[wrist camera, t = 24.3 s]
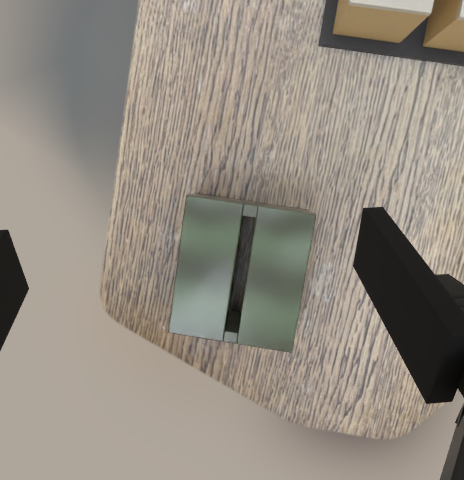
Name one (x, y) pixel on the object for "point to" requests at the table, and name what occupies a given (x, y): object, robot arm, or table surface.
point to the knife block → (257, 278)
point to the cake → (397, 28)
